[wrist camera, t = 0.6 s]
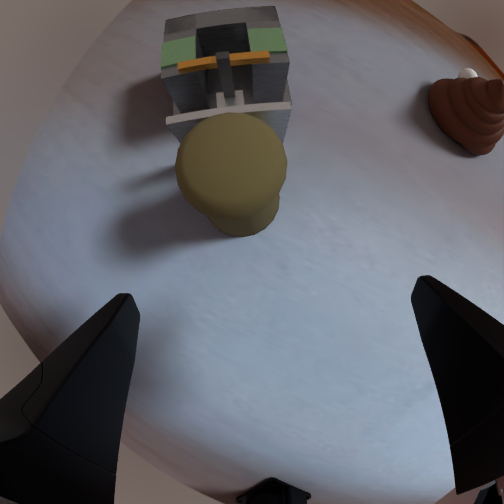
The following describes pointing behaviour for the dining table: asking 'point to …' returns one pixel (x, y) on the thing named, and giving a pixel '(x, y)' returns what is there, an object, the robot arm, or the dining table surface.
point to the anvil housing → (235, 41)
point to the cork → (233, 172)
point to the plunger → (230, 95)
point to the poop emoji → (469, 110)
